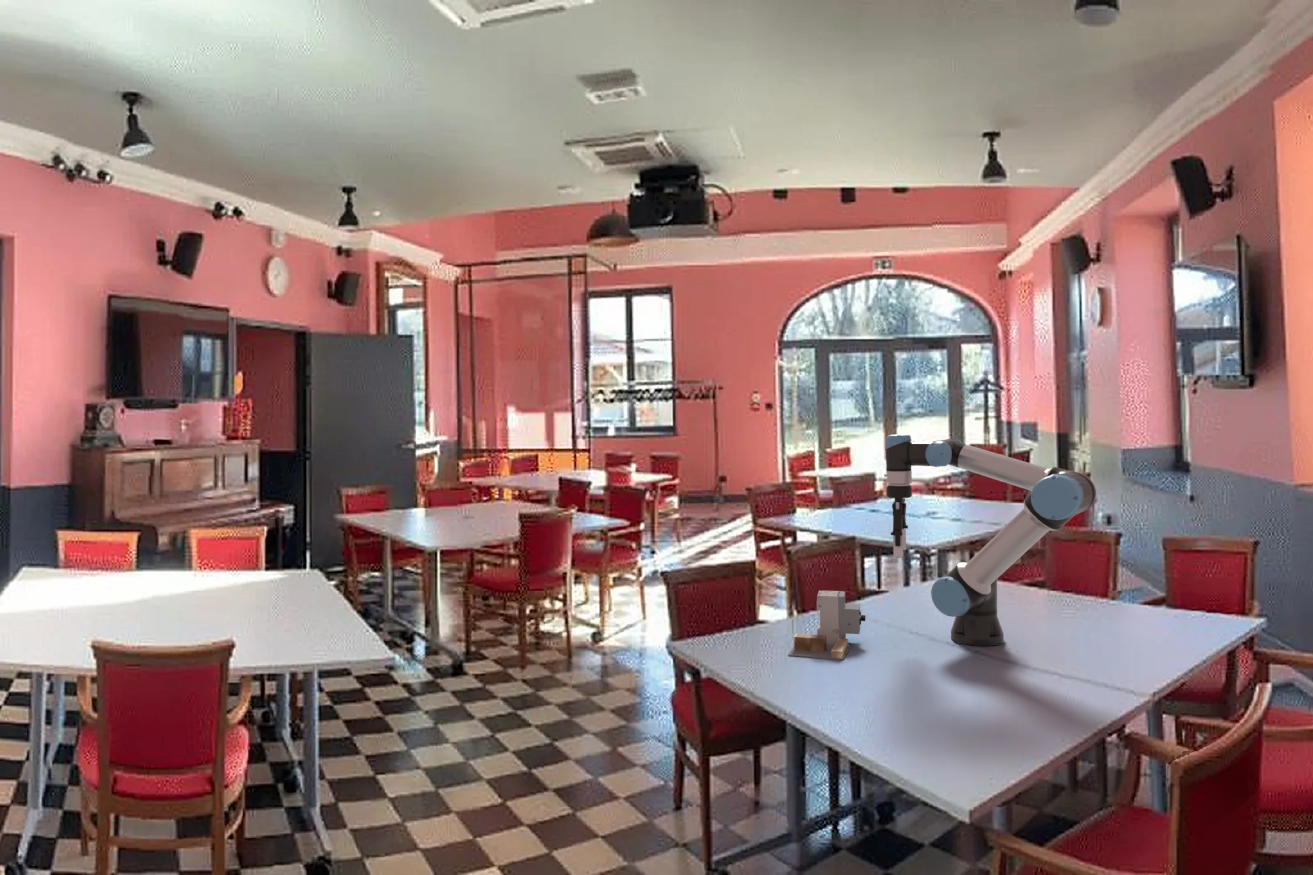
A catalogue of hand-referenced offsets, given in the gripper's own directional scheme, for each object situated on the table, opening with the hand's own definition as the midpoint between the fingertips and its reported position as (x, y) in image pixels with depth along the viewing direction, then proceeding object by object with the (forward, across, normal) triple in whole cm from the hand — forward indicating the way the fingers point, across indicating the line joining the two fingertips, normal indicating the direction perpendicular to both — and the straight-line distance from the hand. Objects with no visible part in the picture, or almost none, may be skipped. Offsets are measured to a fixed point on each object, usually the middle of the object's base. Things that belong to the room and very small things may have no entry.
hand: (900, 553), depth 260 cm
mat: (+27, +20, -22) cm, 40 cm away
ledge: (+27, +20, -16) cm, 37 cm away
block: (+24, +20, -20) cm, 37 cm away
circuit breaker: (+27, +8, -17) cm, 33 cm away
